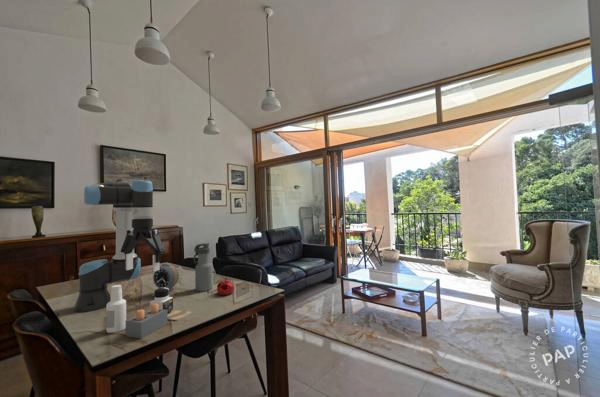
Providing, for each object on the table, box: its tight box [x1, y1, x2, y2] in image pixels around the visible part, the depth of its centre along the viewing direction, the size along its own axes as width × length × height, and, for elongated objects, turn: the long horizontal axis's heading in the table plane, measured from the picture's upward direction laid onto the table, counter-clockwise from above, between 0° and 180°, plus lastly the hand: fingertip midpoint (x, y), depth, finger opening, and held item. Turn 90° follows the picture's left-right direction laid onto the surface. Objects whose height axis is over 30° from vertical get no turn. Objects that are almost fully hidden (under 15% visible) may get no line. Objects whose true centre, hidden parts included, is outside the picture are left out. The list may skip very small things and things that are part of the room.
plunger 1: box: [135, 309, 145, 321], centre depth 105 cm, size 3×3×6 cm
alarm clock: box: [151, 262, 182, 297], centre depth 155 cm, size 14×10×18 cm
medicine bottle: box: [149, 288, 174, 314], centre depth 125 cm, size 7×7×12 cm
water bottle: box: [193, 242, 213, 292], centre depth 162 cm, size 10×10×28 cm
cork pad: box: [167, 309, 192, 322], centre depth 122 cm, size 9×9×1 cm
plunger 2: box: [149, 303, 158, 314], centre depth 112 cm, size 3×3×6 cm
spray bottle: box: [105, 284, 127, 334], centre depth 110 cm, size 7×7×18 cm
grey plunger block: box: [125, 309, 168, 339], centre depth 109 cm, size 8×13×6 cm, turn 163°
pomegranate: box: [216, 277, 235, 296], centre depth 153 cm, size 10×10×9 cm
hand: (142, 270), depth 107 cm, fingers open, 13 cm apart
